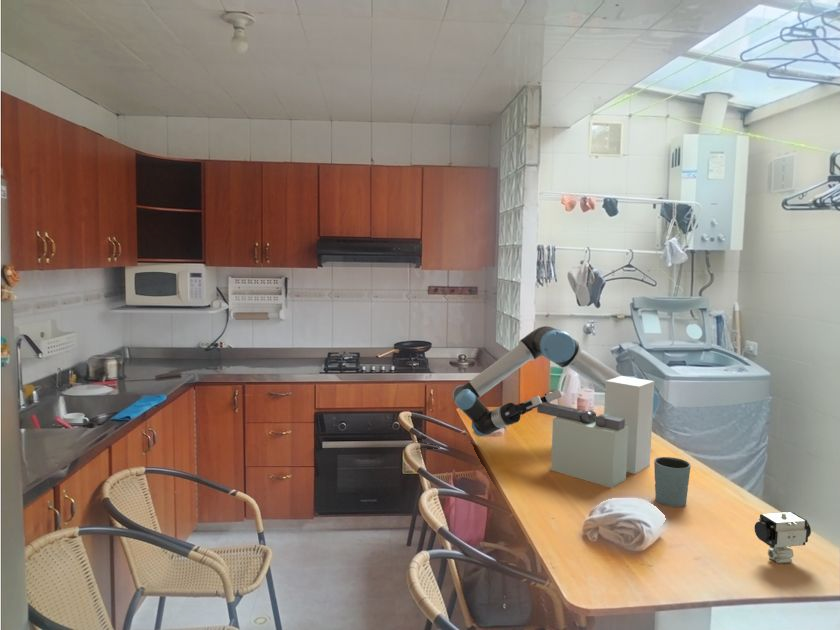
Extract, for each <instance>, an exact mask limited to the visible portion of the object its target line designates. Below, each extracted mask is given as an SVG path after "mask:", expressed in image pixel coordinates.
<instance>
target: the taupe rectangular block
mask: <svg viewBox="0 0 840 630" xmlns="http://www.w3.org/2000/svg"><path fill="white" fill-rule="evenodd" d="M625 376H626V375H622V376H619V377H616V378H613V379H610V380H607V381H606V383H605V391H604V408H603V409H604V410H603V414H609V415H611V416H613V417H618V418H623V419H625V426H629V427H628V447H627V468H626V473H629V474H634V475H636V474H637V473H639V472H642V470H644V469H646V468H647V467H649V466H651V450H652V449H651V448H652V430H653V415H654V414H653V397H654V391H655V381H654V380H650V379H644V378H643V379H642V378H638V377H637V378H638V379H637V378H631V377H625Z"/></svg>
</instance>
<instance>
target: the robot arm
mask: <svg viewBox="0 0 840 630" xmlns="http://www.w3.org/2000/svg"><path fill="white" fill-rule="evenodd" d="M539 357H544V358H546V359H547V360H549V361H551V362H553V363H554V364H555V365H557V366H558V367H560V368H563V369H565V368H569V369H570V370H572V371H573V372H575V373H577V374H578V375H580V376H582V377H583V378H585V379H586V380H587V381H589V382H591V383H592V384H594V385H595V386H597V387H598V388H600V389H601V390H603V391H604V392H605V383H606V381H607V380H610V379H613V378H616V377H619V376H623V375H622V374H621V373H619V372H618V371H616V370H614V369H612V368H611V367H610V366H608V365H607V364H605V363H603V362H602V361H600V360H599V359H597V358H596V357H595V356H593V355H591V354H589V353H588V352H587V351H586V350H584V349H582V347H581V345H580V342H579V341H577V340H575V339H574V338H573V337H572V336H571V334H569V333H568V332H566V331H564V330H561V329H556V328H554V327H552V326H549V325H548V326H546V325H545V326H540V327H537V328H536V329H534V330H532V331H530V333H528V334H527V335H526V336H524V337H523V338H521V339H520V340H518V343H517V345H516V346H515V347H513V348H512V349H511V350H510V351H508V352H507V353H505V354H504V355H503V356H501V357H500V358H499V359H497V360H496V361H495V362H494V363H491V365H489V366H488V367H486V368H485V369H484V370H483V371H482V372H480V373H478V374H477V375H476V376H475V377H474V378H472V379H471V380H469V381H468V382H466V383H465V384H464V385H458V386H456V387H454V389H453V391H452V399H453V400H454V403H455V405H456V406H457V407H458V409H460V410H461V411H462V412H463V413H464V415H466V416H467V417H468V418H469V419H470V420H471V424H470V425H471V429H472V430H473V433H474V434H475V435H477V436H478V437H484V436H487V435H491V434H492V433H494V432H496V431H499V430H501V429H503V430H506V429H507V427H508V426H510V425H515V424H516V423H518V422H519V421H520V420H521V416H523V415H525V414H526V413H528V412H530V411H532V410H533V409H537V405H538V404H541V403H542V402H547V403H551V402H552V401H555V400H558V399H560V398H562V397H564V396H563V393H562V391H561V389H559V388H557V389H556V390H555V391H552V392H550V393H544V396H541V397H540V395H537V396H534V397H532V398H530V399H527V400H525V401H523V402H520V403H518V404H515V403H514V402H507V403H506V404H504V405H500V406H499V407H496V408H494V409H493V410H489V409H488V407H486V406H485V404H484V403H483V402H482V401H481V400H480V399H479V398H481V397H482V396H484V394H486V393H488V392H489V391H490V390H492V388H494V387H495V386H497V385H498V384H500V383H501V382H502V381H503V380H505V379H506V378H509V376H510V375H512V374H514V372H516V371H517V370H518V369H520V368H521V367H522V366H524V365H525V364H526V363H528V362H529V361H535V360H536V359H538V358H539ZM624 376H625V377H631V378H637V379H639V378H638V377H637V376H635V375H634V376H631V375H624ZM659 405H660V396H659V394H658V393H657V392H656V390H654V397H653V415H654V414H655V413H656V412H657V410H658V408H659Z"/></svg>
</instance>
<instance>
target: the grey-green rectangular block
mask: <svg viewBox="0 0 840 630" xmlns="http://www.w3.org/2000/svg"><path fill="white" fill-rule="evenodd" d="M628 427H629V426H625V419H623V418H618V417H613V416H611V415H609V414H604V413H602V414H601V413H600V414H598V415H596V419H595V422H593V423H591V424H586V423H582V422H578V421H573V420H569V419H565V418H560V417H556V416H555V417H553V418H552V432H551V433H552V434H551V436H552V437H551V459H550V461H551V462H550V465H551V466H550V470H551V471H553V472H557V473H561V474H563V475H566V476H570V477H573V478H577V479H579V480H584V481H587V482H591V483H593V484H597V485H600V486H603V487H607V488H611V489H613V488H614V487H616V486H618V485H620V484H621V483H623V482H624V481H626V480H627V472H626V468H627V447H628Z"/></svg>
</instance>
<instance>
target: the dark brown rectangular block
mask: <svg viewBox="0 0 840 630" xmlns="http://www.w3.org/2000/svg"><path fill="white" fill-rule="evenodd" d="M536 409H537V411H536V412H537V413H538V414H544V415H548V416H552V417H555V418H556V417H560V418H565V419H569V420H573V421H578V422H582V423H586V424H591V423H593V422H595V419H596V416H597V414H596V412H595V411H594V410H584V409H579V408H574V407H570V406H565V405H559V404H555V403H551V402H548V403H547V402H542V403H541V404H538V405H537V407H536Z"/></svg>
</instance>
